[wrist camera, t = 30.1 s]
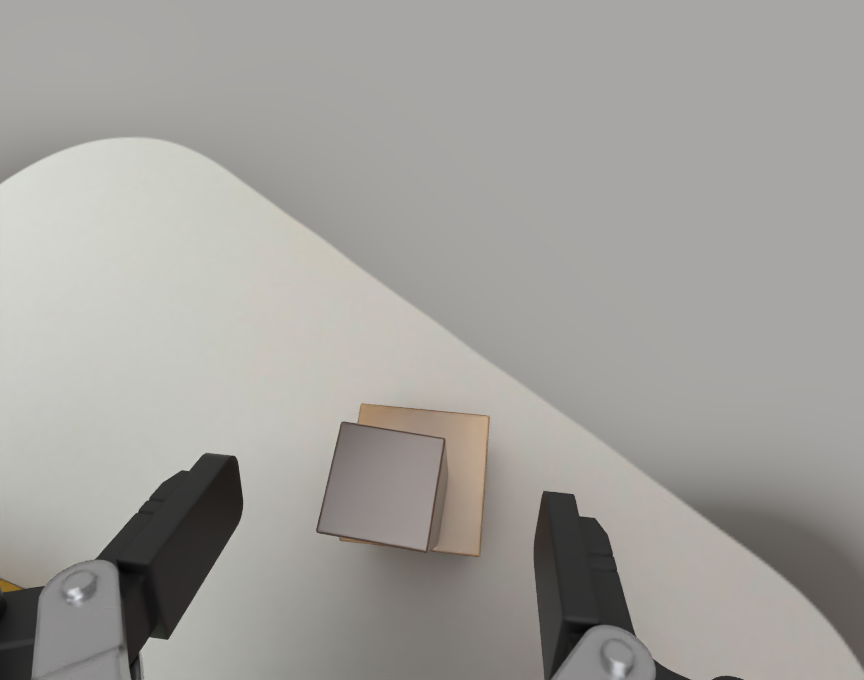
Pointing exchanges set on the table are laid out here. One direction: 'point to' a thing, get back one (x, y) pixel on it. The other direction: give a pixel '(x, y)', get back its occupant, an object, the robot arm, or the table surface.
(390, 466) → the tall bronze square pillar
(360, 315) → the table surface
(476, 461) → the light wooden block
